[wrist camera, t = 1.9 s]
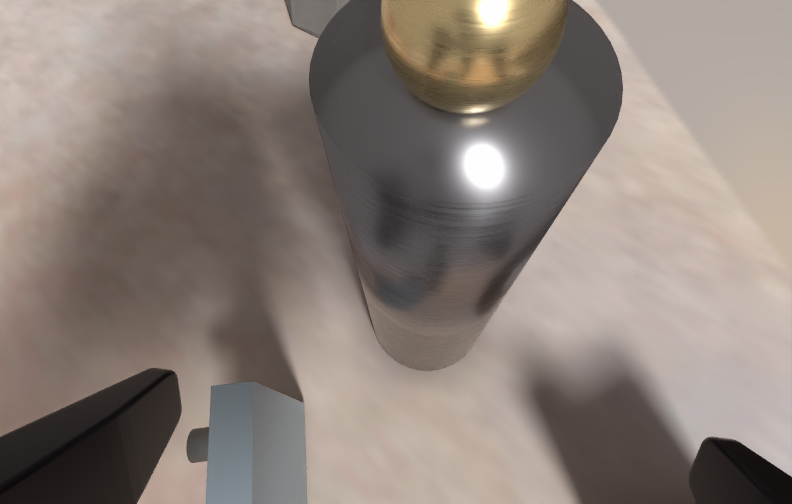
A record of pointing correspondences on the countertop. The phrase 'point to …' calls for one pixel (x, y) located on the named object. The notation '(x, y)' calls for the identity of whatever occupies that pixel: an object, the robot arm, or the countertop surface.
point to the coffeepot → (313, 14)
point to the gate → (252, 446)
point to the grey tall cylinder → (456, 151)
